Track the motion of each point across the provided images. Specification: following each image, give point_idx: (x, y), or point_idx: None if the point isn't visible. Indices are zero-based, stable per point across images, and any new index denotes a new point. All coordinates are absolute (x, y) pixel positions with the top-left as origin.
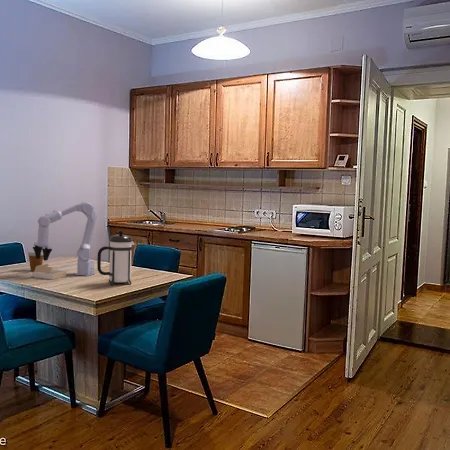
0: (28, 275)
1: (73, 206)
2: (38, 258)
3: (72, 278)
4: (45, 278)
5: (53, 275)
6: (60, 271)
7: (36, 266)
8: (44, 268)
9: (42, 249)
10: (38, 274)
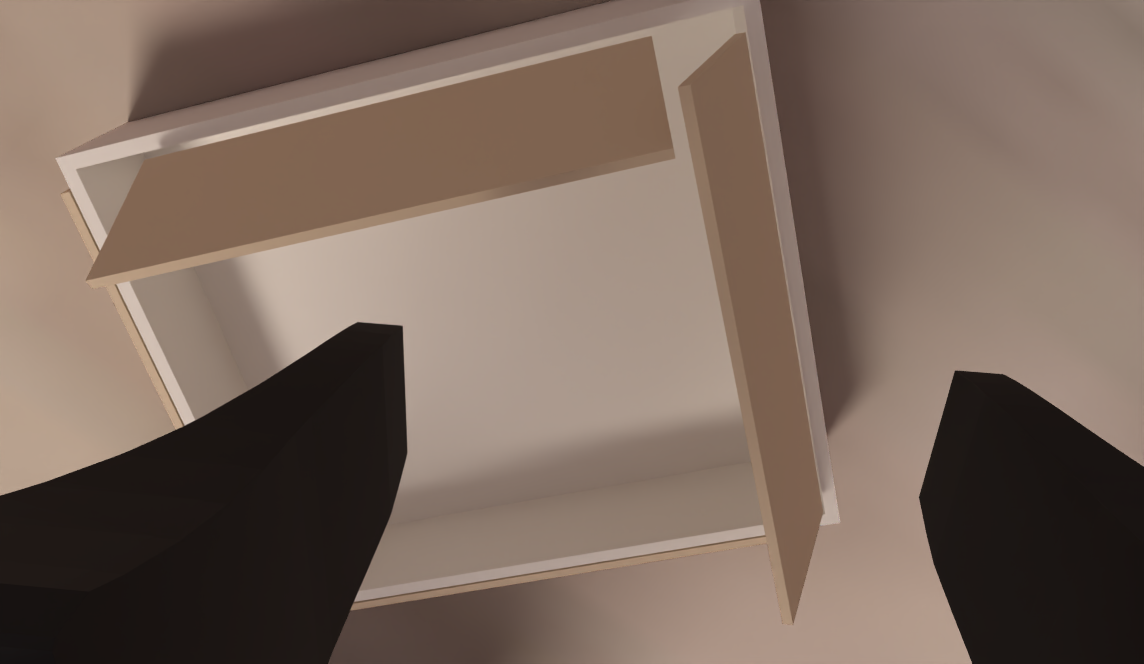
0: (1060, 68)
1: None
2: (935, 451)
3: (34, 481)
4: (333, 71)
5: (80, 171)
6: (420, 569)
7: (683, 98)
8: (367, 180)
9: (6, 580)
10: (548, 31)
